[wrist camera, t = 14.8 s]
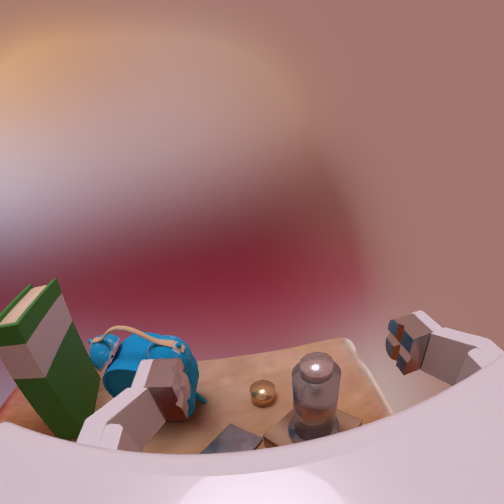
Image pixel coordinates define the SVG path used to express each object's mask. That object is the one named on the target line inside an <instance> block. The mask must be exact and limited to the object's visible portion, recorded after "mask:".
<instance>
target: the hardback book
mask: <svg viewBox="0 0 504 504" xmlns="http://www.w3.org/2000/svg"><path fill="white" fill-rule="evenodd" d="M0 358H1V359H2V361H3V363H4V365H5V366H6V368H7V370H8V371H9V373H10V375H11V376H12V378H13V379H14V381H15V382H16V384H17V385H18V387H19V388H20V390H21V391H22V393H23V394H24V396H25V397H26V399H27V400H28V401H29V403H30V404H31V405H32V407H33V408H34V409H35V411H36V412H37V413H38V415H39V416H40V417H41V418H42V420H43V421H44V422H45V423H46V424H47V426H48V427H49V428H50V429H51V430H52V432H53V433H54V434H55V435H56V436H57V437H58V438H60V439H78V437H79V434H80V432H81V429H82V427H83V424H84V422H85V420H86V419H87V418H88V417H90V416H91V415H92V414H94V410H95V404H96V399H97V393H98V388H99V383H100V376H99V374H98V372H97V371H96V369H95V367H94V365H93V363H92V361H91V359H90V357H89V355H88V353H87V351H86V349H85V347H84V345H83V343H82V341H81V339H80V336H79V334H78V332H77V330H76V327H75V325H74V323H73V320H72V318H71V316H70V313H69V311H68V308H67V306H66V303H65V300H64V298H63V295H62V292H61V289H60V287H59V284H58V281H57V278H55V279H52V281H51V282H50V283H49V284H48V285H45V286H40V287H36V288H33V286H32V284H30V285H28V286H27V287H26V288H25V289H24V290H23V291H22V292H21V293H20V294H19V295H18V296H17V297H16V298H15V299H14V300H13V301H12V302H11V303H10V304H9V305H8V306H7V307H6V308H5V309H4V310H3V311H2V312H1V314H0Z"/></svg>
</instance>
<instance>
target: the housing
mask: <svg viewBox="0 0 504 504" xmlns="http://www.w3.org/2000/svg"><path fill="white" fill-rule="evenodd" d="M340 377H341V370H340V368H339V366H338V365H337V364H336V363H335V362H334V361H333V359H332V357H331V356H330V355H328V354H326V353H322V352H313V353H309V354H307V355H305V356H304V357H303V358H302V359H301V361H300V363H298V364H297V365H296V366H295V367H294V369H293V371H292V385H293V408H294V417H293V418H292V419H291V421H290V423H289V426H288V433H289V437H290V439H291V441H292V442H293V443H299V442H304V441H308V440H313V439H317V438H321V437H325V436H329V435H333V434H336V433H338V432H339V421H338V419H337V417H336V416H335V415H336V408H337V401H338V393H339V385H340Z"/></svg>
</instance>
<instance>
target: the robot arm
mask: <svg viewBox="0 0 504 504" xmlns="http://www.w3.org/2000/svg"><path fill="white" fill-rule="evenodd" d="M388 329H389V331H390V334H389V335H388V336H387V338H386V351H387V353H388V355H389V356H390V358H391V359H393V360H396V361H397V364H396V366H397V367H398V368H399V369H400V371H401V372H402V374H403V375H406V374H408V373H411V372H414V371H417V370H419V369H421V370H422V371H424V372H426V373H428V374H430V375H432V376H434V377H436V378H438V379H440V380H442V381H444V382H446V383H448V384H450V385H452V387H450V388H448V389H446V390H444V391H442V392H440V393H439V394H437V395H435V396H433V397H431V398H429V399H427V400H425V401H423V402H420V403H418V404H416V405H414V406H412V407H409V408H407V409H405V410H402V411H400V412H397V413H395V414H393V415H390V416H387V417H385V418H382V419H380V420H377V421H374V422H371V423H368V424H365V425H362V426H359V427H356V428H353V429H350V430H347V431H343V432H340V433H336V434H333V435H329V436H325V437H321V438H317V439H313V440H308V441H304V442H299V443H294V444H289V445H283V446H278V447H271V448H265V449H257V450H249V451H240V452H228V453H212V454H160V453H144V452H141V450H142V449H143V448H144V447H145V446H146V445H147V443H148V442H149V441H150V440H151V439H152V437H153V436H154V435H155V434H156V433H157V431H158V430H159V429H160V428H161V427H162V425H163V424H164V423H165V422H166V421H165V420H186V419H187V418H188V409H189V406H188V403H187V400H188V399H189V398H190V384H189V379H188V376H187V374H185V373H184V372H183V368H184V365H183V363H182V360H181V359H180V358H169V359H143V360H142V361H141V362H140V364H139V367H138V369H137V372H136V375H135V377H134V380H133V383H132V386H131V388H126V389H125V390H124V391H123V392H121V393H120V394H119V395H117V396H116V397H115V398H113V399H112V400H111V401H109V402H108V403H107V404H106V405H104V406H103V407H102V408H100V409H99V410H98V411H96V412H95V413H94V414H92V415H91V416H90V417H88V418H87V419H86V420H85V422H84V424H83V427H82V429H81V432H80V434H79V437H78V439H77V442H72V441H68V440H64V439H60V438H56V437H52V436H49V435H45V434H42V433H39V432H35V431H32V430H29V429H26V428H24V427H21V426H19V425H16V424H13V423H10V422H3V423H0V504H504V351H502V350H501V349H500V348H499V347H498V346H497V345H495V344H494V343H493V342H492V341H491V340H490V339H487V338H483V337H479V336H475V335H472V334H468V333H464V332H460V331H457V330H453V329H449V328H442V327H440V326H439V325H438V324H437V323H436V322H435V321H434V320H433V319H431V318H430V317H429V316H428V315H427V314H426V313H424V312H423V311H420V310H419V311H416V312H413V313H411V314H409V315H405V316H402V317H399V318H396V319H393V320H390V322H389V326H388Z"/></svg>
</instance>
